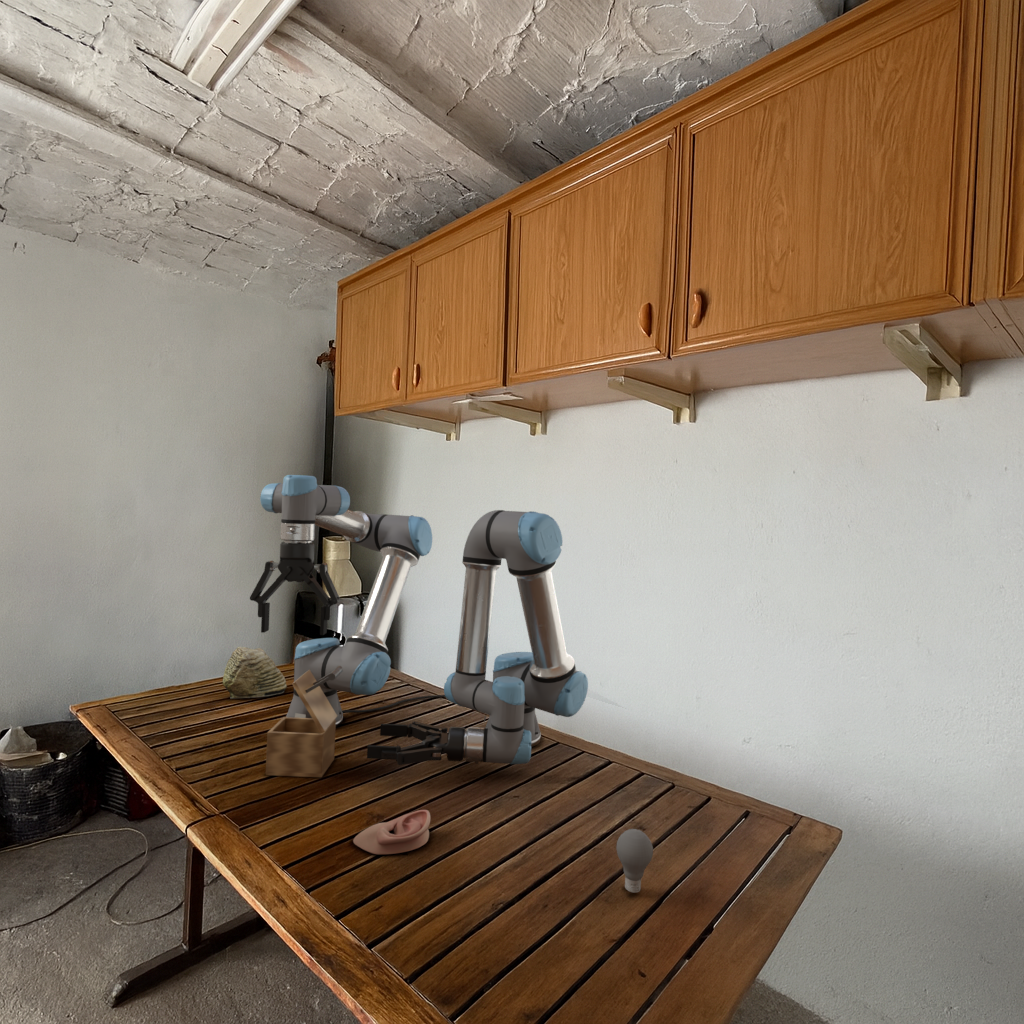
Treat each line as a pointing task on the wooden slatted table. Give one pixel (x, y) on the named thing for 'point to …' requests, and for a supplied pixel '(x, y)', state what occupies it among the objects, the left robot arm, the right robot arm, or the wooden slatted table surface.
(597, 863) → the wooden slatted table surface
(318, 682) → the lid
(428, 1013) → the wooden slatted table surface
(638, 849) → the light bulb
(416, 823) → the anatomical model
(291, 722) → the chest
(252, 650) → the fossil
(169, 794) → the wooden slatted table surface
